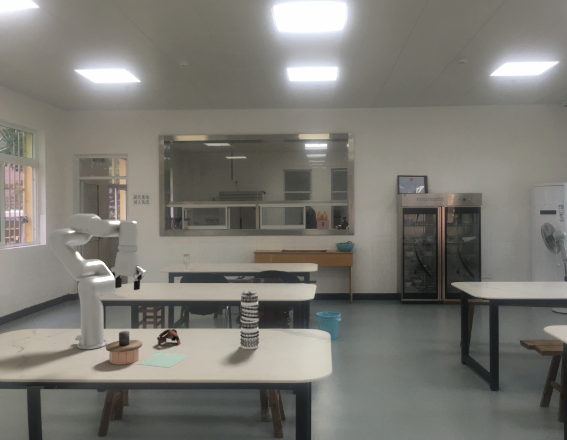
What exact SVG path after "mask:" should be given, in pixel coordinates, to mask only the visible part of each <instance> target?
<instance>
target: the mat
mask: <svg viewBox="0 0 567 440" xmlns="http://www.w3.org/2000/svg"><path fill="white" fill-rule="evenodd" d="M187 357H189V354H187V355H186V354H180V353H168V352H159V351H158V352H156V353H154V354H152V355H150V356H148V357H147V358H145V359H143V360H141V361H139V362H137V363H136V365H140V366H141V365H142V366H152V367H160V368H172V367H173V366H175V365H176V364H178V363H179V362H181V361H183V360H184V359H186V358H187Z"/></svg>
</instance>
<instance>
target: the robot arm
mask: <svg viewBox="0 0 567 440" xmlns="http://www.w3.org/2000/svg"><path fill="white" fill-rule="evenodd" d="M67 226H68V228H67V227H66V228H57V229H55V230H53V231H52V232H50V234H49V236H48V245H49V247H50V249H51V252H52V253H53V254H54V256H55V257H56V258H57V259H58V260H59V261H60V262H61V263H62V264H63V266H64V268H65V269H66V270H67V272H68V274H70V276H71V277H72V278H73V280H75V281H77V282H78V281H79V283H78V284H77V291H78V296H79V302H80V303H79V304H80V334H77V335H76V336H75V338H74V340H75V341H78V343H77V346H76V347H77V349H80V350H93V349H94V350H95V349H101V348H102V347H106V345H108V340H106V339H104V336H105V335H104V325H105V324H104V305H103V302H102V301H101V299H100V297H102V296H109V295H112V294H113V293H115V292H116V291H117V289H119V288H122V280H123V279H122V278H121V277H133V279H134V281H133V291H139V290H140V289H141V280H142V279H143V278H144V276H145V273H146V270H145V269H143V268H142V267H141V263H140V255H139V252H138V241H139V240H138V239H139V238H138V236H139V235H138V234H139V233H138V230H139V229H138V228H139V225H138V222H137V221H136V220H126V219H101V217H100V216H99V215H97V214H95V213H74V214H73V215H70V216H69V218H68V220H67ZM93 237H98V238H113V237H115V238H117V237H118V246H117V250H118V251H117V252H116V257H115V261H114V266H112V267H110V269H109V268H108V266H107V265H106V264H105V263H104V261H102V260H101V259H97V258H93V259H92V258H89V259H85V258H84V257H83V256H82V254H81V253H80V252H79V251H77V250H76V249H75V248H73V247H72V246H83V245H85V244H87V243H88V242H89V241H90V240H91V239H92V238H93Z"/></svg>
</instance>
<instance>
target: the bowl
mask: <svg viewBox="0 0 567 440" xmlns="http://www.w3.org/2000/svg"><path fill="white" fill-rule="evenodd" d="M139 359H140V348H138V349H135V350H132V351H126V352H110V351H109V363H110V364H112V365H119V366H120V365H121V366H122V365H129V364H132V363H135V362H137V361H139Z"/></svg>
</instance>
